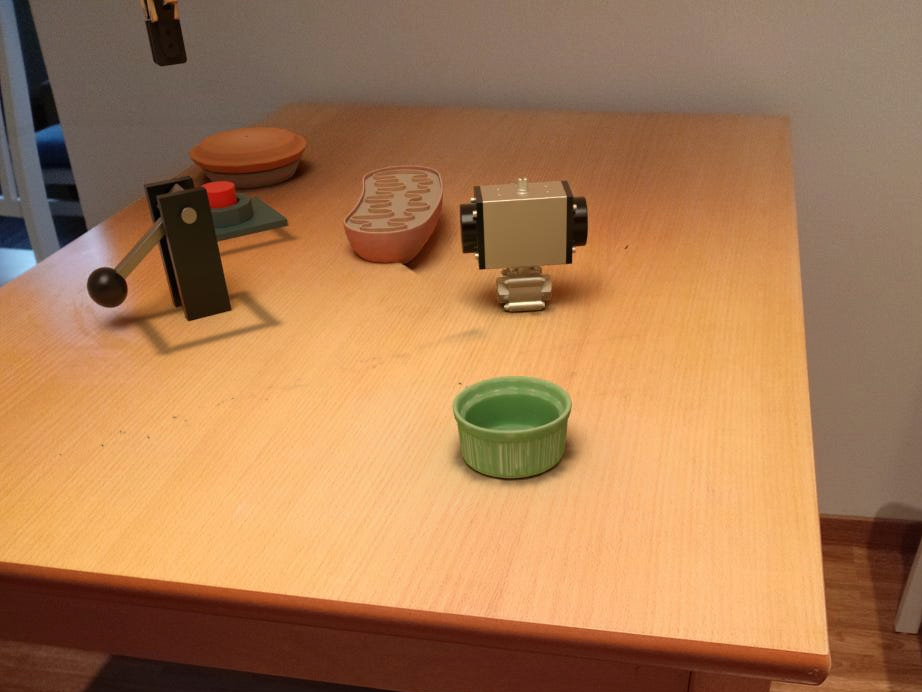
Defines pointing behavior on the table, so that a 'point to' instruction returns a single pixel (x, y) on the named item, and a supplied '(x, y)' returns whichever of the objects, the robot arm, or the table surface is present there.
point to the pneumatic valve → (523, 236)
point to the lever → (123, 268)
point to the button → (221, 194)
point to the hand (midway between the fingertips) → (170, 63)
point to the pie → (250, 156)
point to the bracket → (189, 248)
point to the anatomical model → (395, 213)
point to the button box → (245, 218)
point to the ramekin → (512, 425)
